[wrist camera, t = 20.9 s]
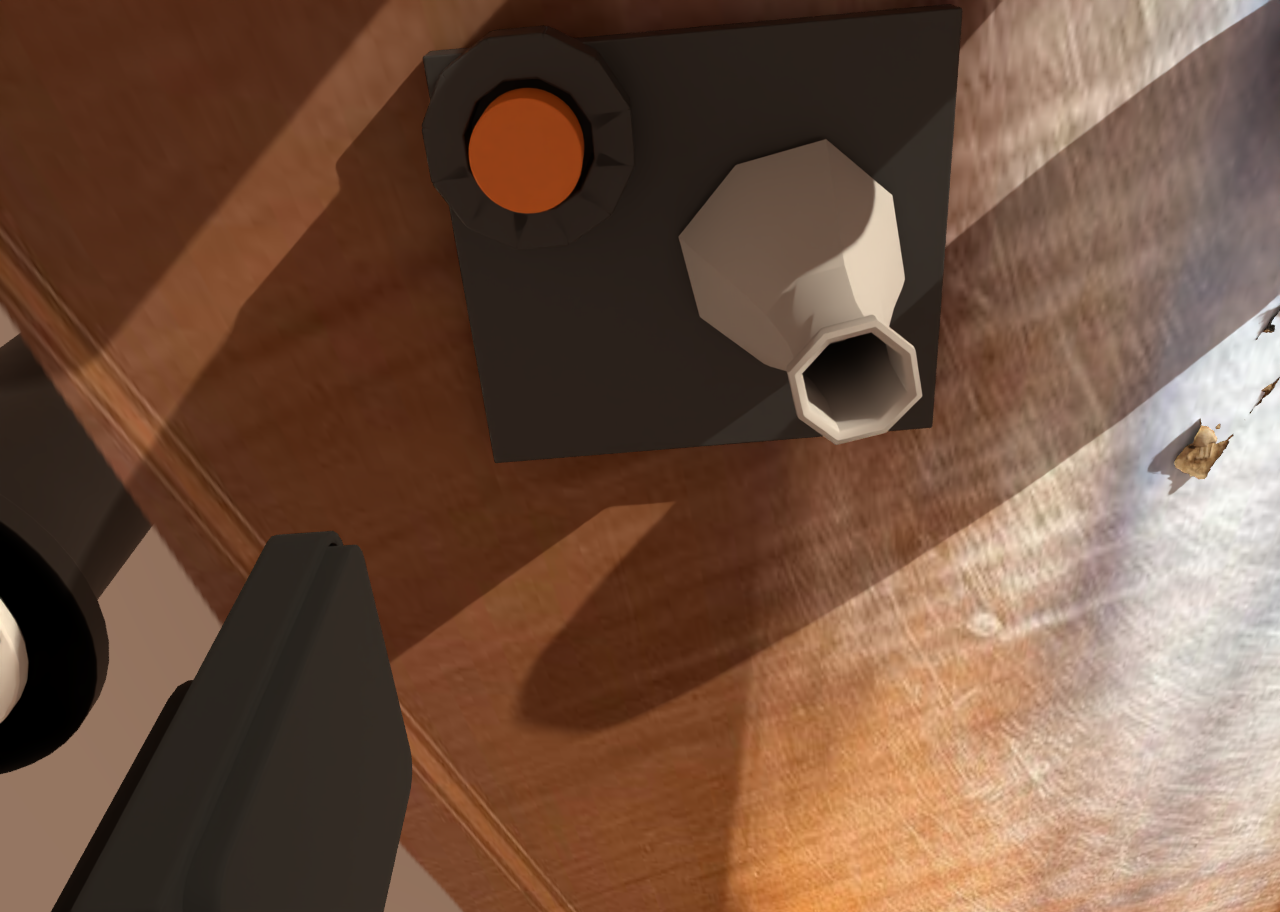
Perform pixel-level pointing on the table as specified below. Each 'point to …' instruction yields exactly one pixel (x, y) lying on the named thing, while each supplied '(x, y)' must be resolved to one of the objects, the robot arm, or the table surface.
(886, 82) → the scale
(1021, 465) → the table surface
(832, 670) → the table surface
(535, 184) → the button
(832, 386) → the flask
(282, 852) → the robot arm
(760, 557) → the table surface
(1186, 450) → the fossil
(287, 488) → the table surface
